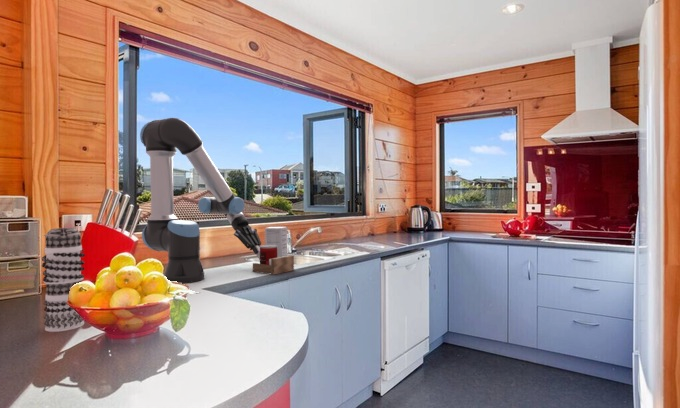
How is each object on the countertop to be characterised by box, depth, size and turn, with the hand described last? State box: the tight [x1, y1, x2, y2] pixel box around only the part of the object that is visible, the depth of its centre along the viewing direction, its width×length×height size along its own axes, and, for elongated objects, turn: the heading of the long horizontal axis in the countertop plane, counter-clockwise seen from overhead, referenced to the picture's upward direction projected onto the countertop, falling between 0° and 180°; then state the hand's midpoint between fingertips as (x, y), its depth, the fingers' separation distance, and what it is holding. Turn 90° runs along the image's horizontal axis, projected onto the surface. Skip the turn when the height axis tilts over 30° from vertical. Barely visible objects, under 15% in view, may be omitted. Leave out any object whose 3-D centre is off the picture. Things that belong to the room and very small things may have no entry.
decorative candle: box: [41, 227, 86, 333], centre depth 104 cm, size 9×9×25 cm
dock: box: [252, 254, 295, 275], centre depth 180 cm, size 12×13×6 cm
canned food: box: [259, 244, 277, 265], centre depth 181 cm, size 8×8×11 cm
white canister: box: [264, 226, 288, 258], centre depth 215 cm, size 10×9×17 cm
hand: (262, 258), depth 185 cm, fingers closed
